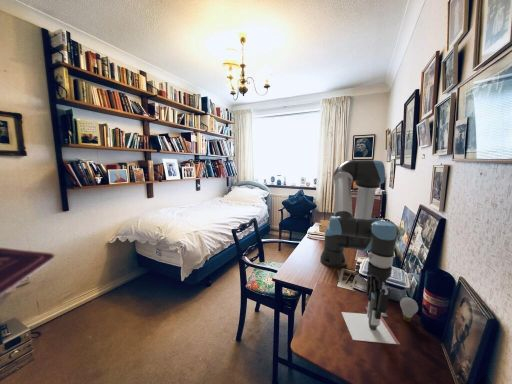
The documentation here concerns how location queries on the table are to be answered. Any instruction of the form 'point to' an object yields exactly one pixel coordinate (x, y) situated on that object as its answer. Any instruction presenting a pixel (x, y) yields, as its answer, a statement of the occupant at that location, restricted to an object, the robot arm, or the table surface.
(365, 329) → the notepad
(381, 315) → the word card
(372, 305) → the marker
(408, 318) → the light bulb
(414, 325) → the table surface
